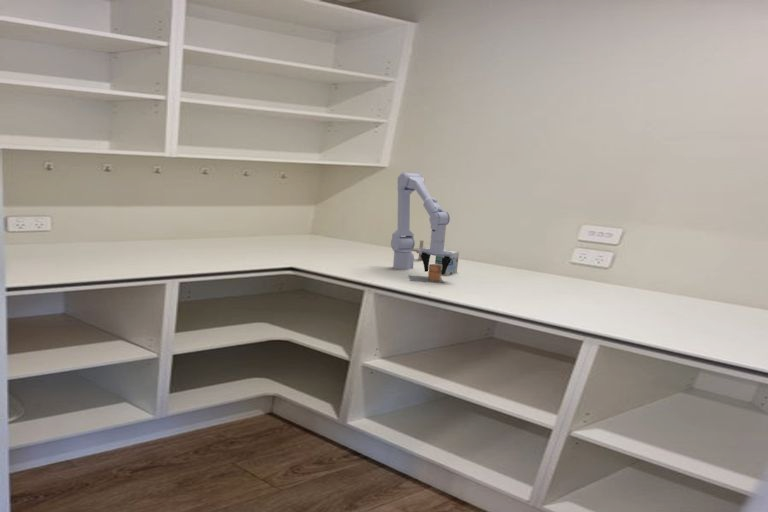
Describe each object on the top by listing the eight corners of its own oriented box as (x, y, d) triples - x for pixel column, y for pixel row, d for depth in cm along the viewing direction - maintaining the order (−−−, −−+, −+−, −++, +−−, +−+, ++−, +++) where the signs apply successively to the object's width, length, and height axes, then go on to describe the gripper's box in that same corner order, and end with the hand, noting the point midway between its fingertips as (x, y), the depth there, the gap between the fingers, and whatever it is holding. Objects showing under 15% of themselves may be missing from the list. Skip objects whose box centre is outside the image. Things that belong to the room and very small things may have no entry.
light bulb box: (447, 278, 227) (449, 254, 226) (433, 276, 231) (435, 252, 229) (457, 275, 236) (459, 251, 234) (443, 272, 240) (445, 249, 238)
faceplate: (409, 283, 213) (410, 275, 213) (408, 278, 223) (408, 270, 223) (443, 285, 214) (444, 277, 213) (440, 280, 224) (441, 272, 223)
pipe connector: (407, 260, 263) (409, 240, 261) (414, 257, 272) (415, 238, 270) (426, 263, 259) (428, 243, 257) (432, 259, 268) (434, 240, 266)
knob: (437, 281, 215) (438, 266, 214) (426, 279, 217) (427, 265, 216) (441, 279, 220) (442, 264, 218) (431, 277, 222) (432, 263, 220)
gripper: (417, 239, 215) (415, 271, 218) (450, 244, 209) (447, 277, 211) (424, 237, 221) (421, 268, 224) (456, 242, 215) (453, 274, 217)
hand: (434, 272), depth 218 cm, fingers open, 7 cm apart
